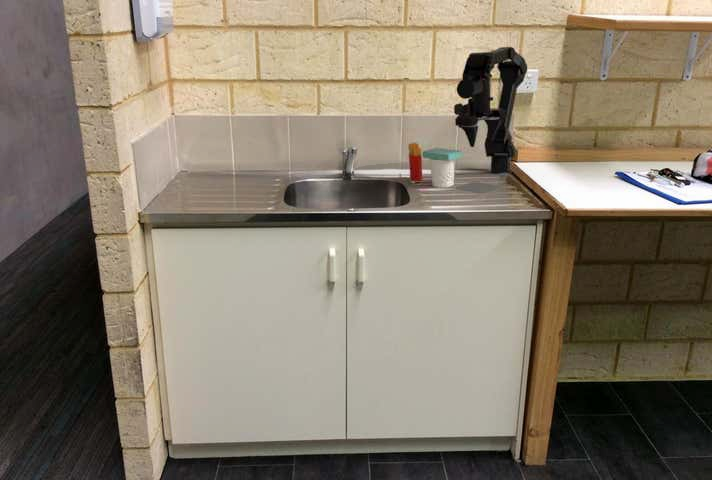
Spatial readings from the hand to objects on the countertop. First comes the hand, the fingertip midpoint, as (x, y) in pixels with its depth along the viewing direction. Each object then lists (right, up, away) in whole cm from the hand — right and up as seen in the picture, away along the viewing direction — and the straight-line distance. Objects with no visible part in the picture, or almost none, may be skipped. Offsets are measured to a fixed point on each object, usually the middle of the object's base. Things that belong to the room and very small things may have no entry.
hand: (481, 144), depth 194 cm
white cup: (-12, -14, +4) cm, 18 cm away
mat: (-2, -15, -3) cm, 15 cm away
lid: (-12, -4, +1) cm, 13 cm away
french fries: (-19, -10, +16) cm, 27 cm away
